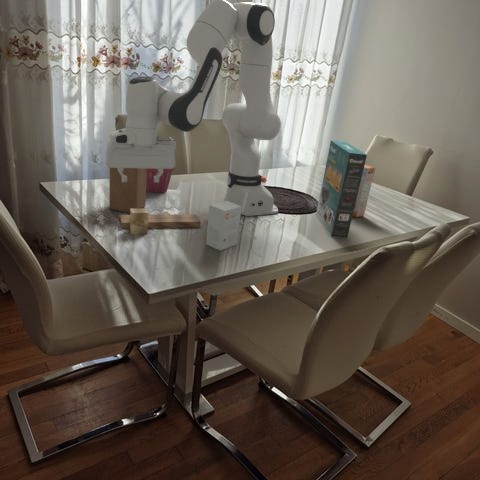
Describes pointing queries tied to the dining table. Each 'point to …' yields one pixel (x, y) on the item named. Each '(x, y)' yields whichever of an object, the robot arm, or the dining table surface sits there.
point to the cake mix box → (340, 187)
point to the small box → (223, 225)
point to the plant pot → (163, 180)
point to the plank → (166, 221)
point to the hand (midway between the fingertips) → (140, 182)
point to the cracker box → (363, 191)
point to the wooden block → (128, 189)
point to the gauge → (139, 221)
